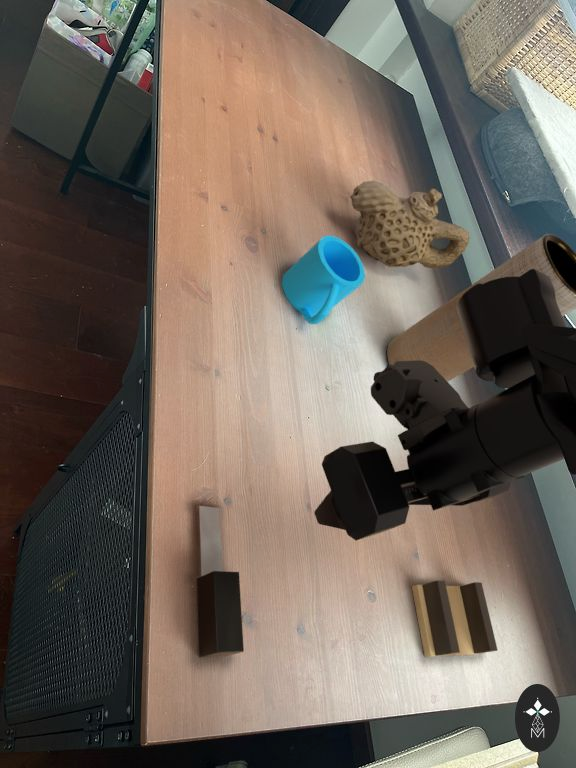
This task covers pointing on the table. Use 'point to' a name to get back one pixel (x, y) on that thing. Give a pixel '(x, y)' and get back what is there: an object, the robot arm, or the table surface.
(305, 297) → the mug
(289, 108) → the table surface
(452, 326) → the vase
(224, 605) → the knife
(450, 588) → the rack
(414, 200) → the teapot
